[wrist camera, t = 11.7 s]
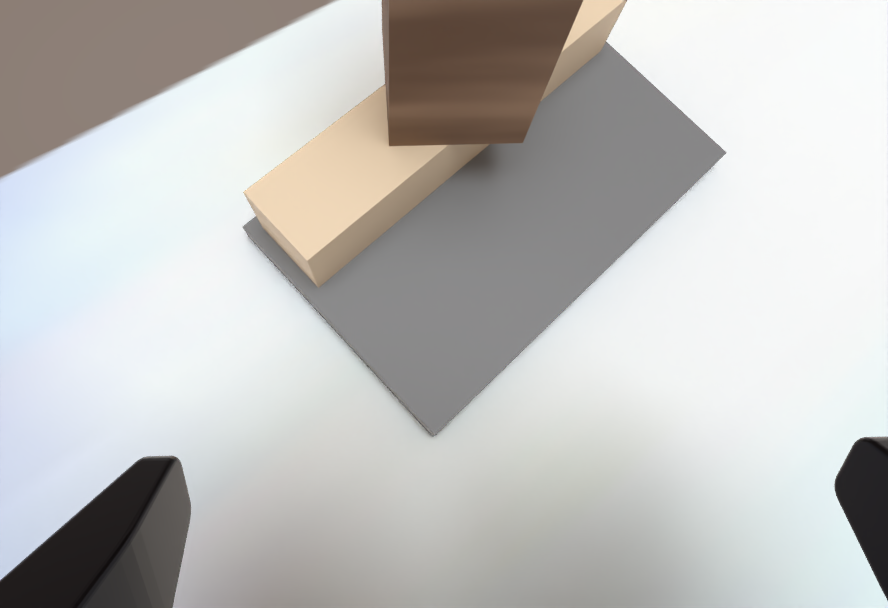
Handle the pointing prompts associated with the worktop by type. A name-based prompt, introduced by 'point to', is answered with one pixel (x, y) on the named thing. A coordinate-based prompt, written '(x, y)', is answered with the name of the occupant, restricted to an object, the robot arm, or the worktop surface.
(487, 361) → the stand
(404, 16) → the post
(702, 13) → the worktop surface
